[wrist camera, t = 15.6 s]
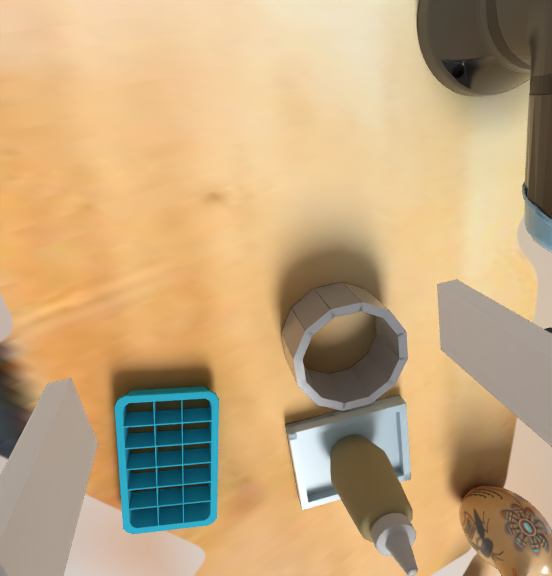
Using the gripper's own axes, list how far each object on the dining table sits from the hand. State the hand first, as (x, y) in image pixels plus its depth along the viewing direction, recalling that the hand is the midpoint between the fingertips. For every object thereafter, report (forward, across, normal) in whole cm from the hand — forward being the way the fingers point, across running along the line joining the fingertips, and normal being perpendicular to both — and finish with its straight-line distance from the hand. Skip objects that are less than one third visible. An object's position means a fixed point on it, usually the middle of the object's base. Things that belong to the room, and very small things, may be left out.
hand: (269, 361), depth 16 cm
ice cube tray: (+35, -12, -29) cm, 47 cm away
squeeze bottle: (+34, +11, -37) cm, 51 cm away
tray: (+34, +10, -37) cm, 52 cm away
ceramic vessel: (+35, +30, -54) cm, 71 cm away
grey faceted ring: (+34, +11, -19) cm, 41 cm away
